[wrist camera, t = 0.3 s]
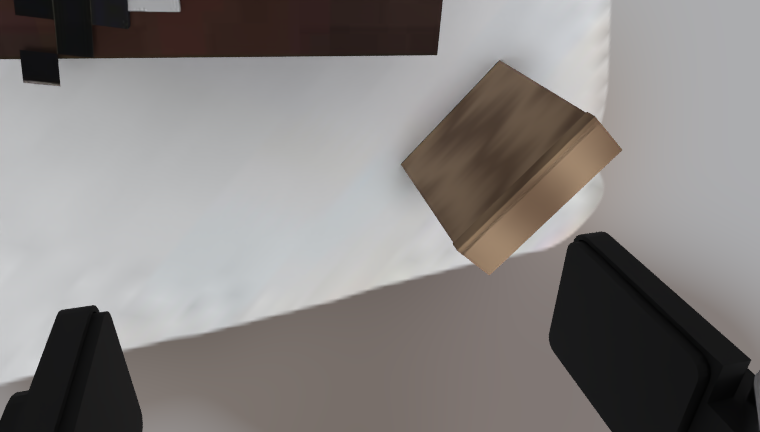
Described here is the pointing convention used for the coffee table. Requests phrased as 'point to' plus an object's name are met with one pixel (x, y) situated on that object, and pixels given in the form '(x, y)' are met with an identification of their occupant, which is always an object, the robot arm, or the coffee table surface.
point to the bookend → (506, 164)
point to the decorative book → (210, 30)
